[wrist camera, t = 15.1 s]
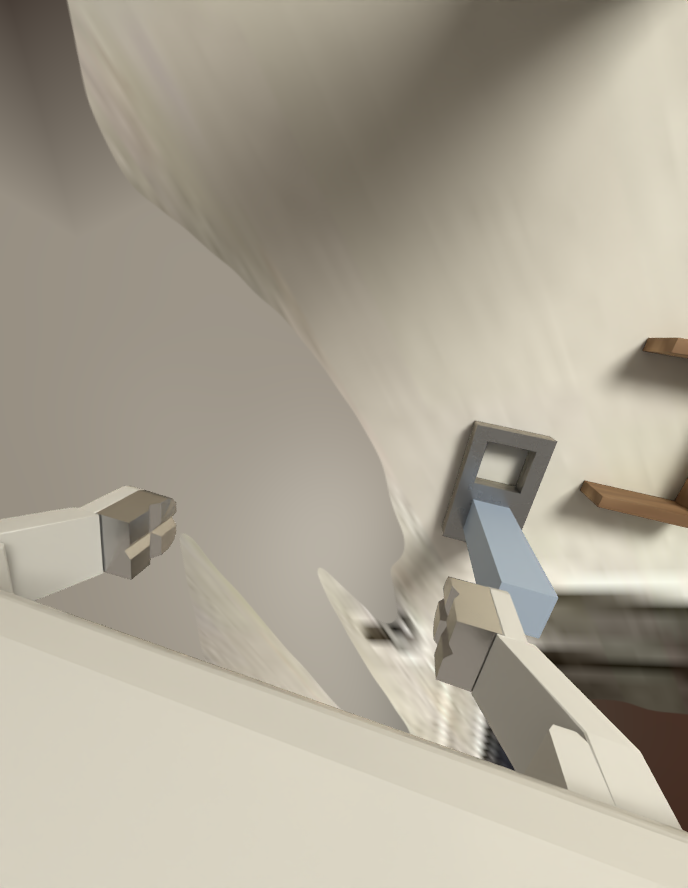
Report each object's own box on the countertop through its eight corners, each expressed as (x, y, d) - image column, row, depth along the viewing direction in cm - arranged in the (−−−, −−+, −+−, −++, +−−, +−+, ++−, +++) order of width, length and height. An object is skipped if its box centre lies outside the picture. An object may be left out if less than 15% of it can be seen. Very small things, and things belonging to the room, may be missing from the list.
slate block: (473, 499, 38) (501, 582, 25) (509, 508, 38) (558, 597, 25) (463, 529, 40) (485, 622, 26) (498, 538, 39) (538, 638, 26)
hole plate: (474, 420, 38) (477, 424, 36) (549, 436, 36) (557, 441, 35) (441, 527, 42) (442, 535, 40) (507, 544, 41) (512, 553, 39)
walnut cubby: (648, 338, 32) (678, 337, 28) (770, 358, 31) (819, 360, 27) (580, 490, 37) (598, 506, 34) (681, 513, 36) (712, 533, 32)
